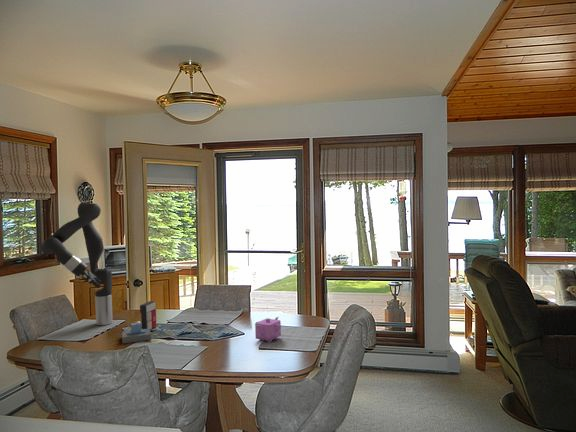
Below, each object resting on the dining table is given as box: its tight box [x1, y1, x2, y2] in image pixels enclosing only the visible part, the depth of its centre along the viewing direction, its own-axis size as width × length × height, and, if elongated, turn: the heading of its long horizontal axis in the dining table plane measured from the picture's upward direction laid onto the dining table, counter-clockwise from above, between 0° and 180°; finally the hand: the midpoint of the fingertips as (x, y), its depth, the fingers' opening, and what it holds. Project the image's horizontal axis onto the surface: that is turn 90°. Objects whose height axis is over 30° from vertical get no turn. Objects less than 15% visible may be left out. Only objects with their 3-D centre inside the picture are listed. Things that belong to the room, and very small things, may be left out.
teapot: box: [254, 316, 282, 343], centre depth 230 cm, size 15×13×11 cm
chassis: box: [121, 328, 152, 344], centre depth 238 cm, size 12×14×3 cm
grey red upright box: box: [139, 300, 157, 330], centre depth 255 cm, size 11×4×15 cm, turn 168°
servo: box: [126, 320, 145, 335], centre depth 238 cm, size 4×9×9 cm, turn 110°
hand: (100, 285), depth 241 cm, fingers open, 8 cm apart
